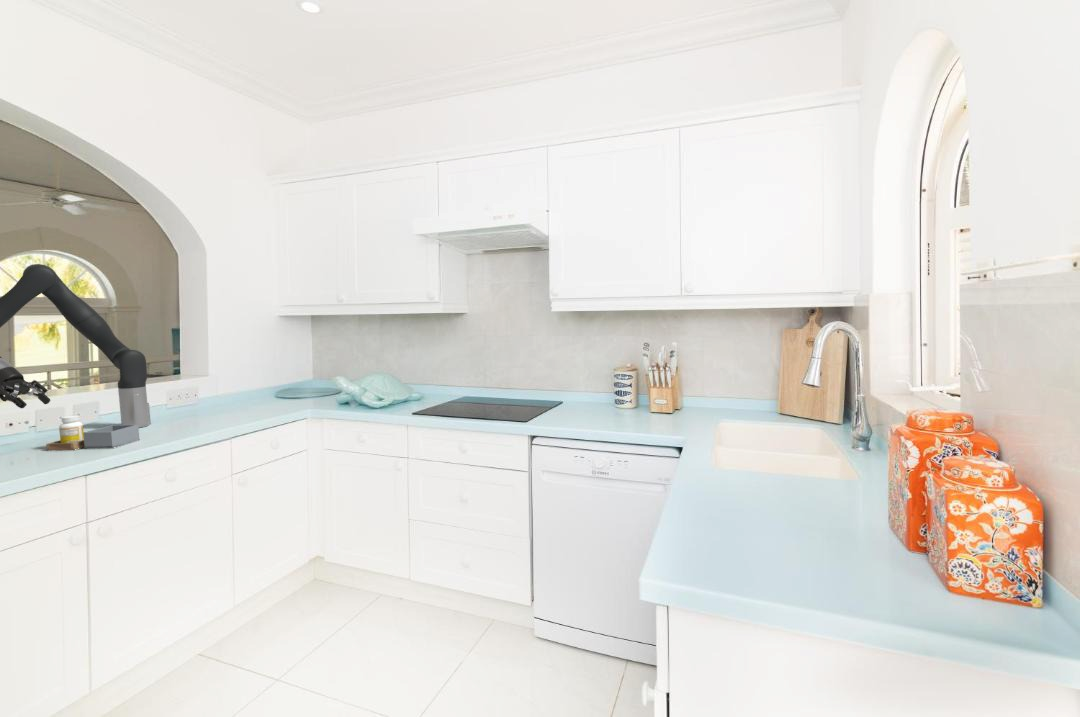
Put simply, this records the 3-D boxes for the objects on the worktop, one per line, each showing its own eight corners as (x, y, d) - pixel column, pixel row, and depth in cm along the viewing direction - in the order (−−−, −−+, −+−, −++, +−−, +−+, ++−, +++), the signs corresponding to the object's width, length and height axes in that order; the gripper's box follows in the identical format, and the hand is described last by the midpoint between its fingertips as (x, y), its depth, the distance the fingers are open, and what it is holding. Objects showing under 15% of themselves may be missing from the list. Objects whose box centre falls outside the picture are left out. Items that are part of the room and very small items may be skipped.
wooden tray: (72, 443, 186) (71, 437, 186) (98, 443, 186) (97, 436, 186) (47, 450, 176) (46, 444, 176) (74, 450, 176) (73, 443, 176)
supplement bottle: (73, 449, 178) (70, 418, 177) (56, 449, 178) (52, 418, 177) (89, 444, 184) (86, 414, 183) (72, 444, 184) (69, 414, 183)
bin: (113, 440, 190) (112, 425, 189) (139, 440, 190) (138, 424, 189) (84, 449, 178) (83, 432, 177) (112, 448, 178) (111, 432, 177)
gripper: (-14, 368, 171) (22, 400, 172) (28, 364, 185) (62, 394, 186) (-28, 383, 172) (9, 415, 173) (15, 378, 186) (49, 408, 187)
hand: (36, 404), depth 180 cm, fingers open, 8 cm apart
